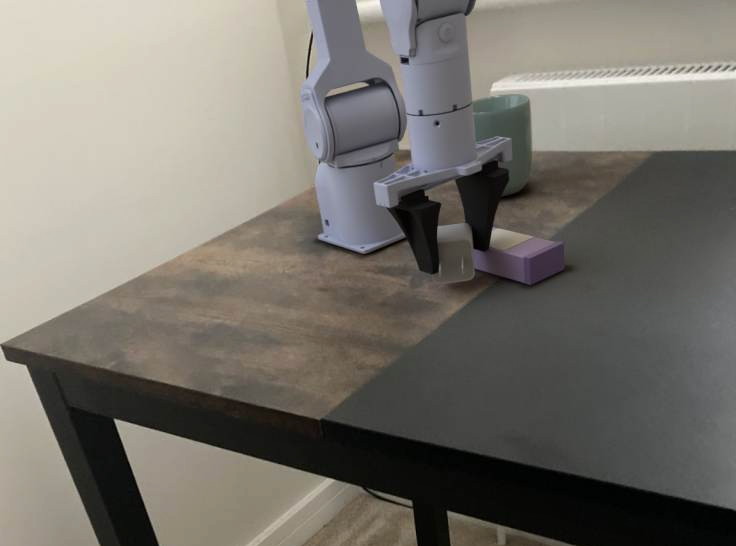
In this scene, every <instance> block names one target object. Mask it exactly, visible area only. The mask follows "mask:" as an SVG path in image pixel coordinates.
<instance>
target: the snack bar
mask: <svg viewBox="0 0 736 546" xmlns="http://www.w3.org/2000/svg"><path fill="white" fill-rule="evenodd" d="M474 266H475V270H478V271H482V272H485V273H489V274H492V275H495V276H499V277H502V278H506V279H509V280H512V281H516V282H520V283H524V284H525V285H528V286H532V285H534V284H536V283H538V282H541V281H543V280H544V279H547V278H549V277H551V276H554V275H555V274H557V273H559V272H562V271H563V270H565V269H566V267H565V242H563V241H559V240H558V241H554V240H553V241H552V240H548V239H545V238H540V237H536V236H533V235H529V234H526V233H525V234H524V233H520V232H516V231H511V230H508V229H504V228H499V227H495V226H493V228H492V234H491V240H490V246H489V250H487V251H485V252H483V251H479V250H475V249H474Z"/></svg>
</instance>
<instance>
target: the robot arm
mask: <svg viewBox="0 0 736 546" xmlns="http://www.w3.org/2000/svg"><path fill="white" fill-rule="evenodd" d="M304 2H305V6H306V11H307V14H308V18H309V23H310V27H311V31H312V37H313V40H314V44H315V48H316V54H317V57H318V61H317V63H316V65H315V66H314V68H313V69H312V71H311V72H310V73H309V75H308V76H307V77H306V79H305V80H304V82H303V84H302V86H301V88H300V91H299V93H300V95H299V99H300V103H301V109H302V125H303V131H304V135H305V140H306V143H307V145H308V148H309V149H310V151H311V154H312V155H313V156H314V157H315V158H316V159H317V160H318V161H319V164H318V166H317V169H316V171H315V172H316V173H315V177H314V186H315V192H316V198H317V203H318V208H319V213H320V219H321V224H322V230H323V233H319V234H318V235H317V239H318V240H319V241H322V242H325V243H328V244H331V245H333V246H334V245H335V246H337V247H340V248H341V247H342V248H344V249H347V250H351V251H353V252H357V253H359V254H363V255H364V254H369V253H372V252H374V251H376V250H379V249H381V248H384V247H387V246H389V245H390V244H393V243H396V242H398V241H400V240H403V239H405V238H406V240H407V242H408V245H409V247H410V249H411V251H412V254H413V256H414V259H415V262H416V264H417V267H418V270H419V271H420V272H423V273H425V274H429V275H431V274H435V273H438V271H439V254H438V243H437V229H438V226H439V219H440V212H441V207H442V203H441V202H440V201H435V200H431V199H430V197H429V195H426V192H428V191H430V190H433V189H434V188H437V187H439V186H442V185H445V184H447V183H451V182H452V181H454V182H455V184H456V187H457V189H458V190H457V191H458V194H459V197H460V201H461V205H462V209H463V215H464V223H467V224H469V225H470V226H471V228H472V237H473V248H474V249H475V250H479V251H483V252H485V251H487V250H489V246H490V240H491V234H492V228H493V227H494V224H495V220H496V219H495V218H496V214H497V211H498V207H499V204H500V202H501V199H502V197H501V196H502V194H503V192H504V189H505V187H506V185H507V184H508V182H509V170H508V169H506V168H500V167H498V162H502V163H505V162H508V161H511V160H512V159H513V157H512V140H511V138H505V137H494V138H491V139H488V140H484V141H481V142H477V143H476V141H475V128H474V116H473V103H472V101H473V91H472V90H473V89H472V79H471V68H470V67H471V66H470V54H469V41H468V30H467V28H468V27H467V18H466V17H467V16H470V14H471V13H472V12H473V10H474V9H475V6H476V3H477V0H379V4H380V8H381V9H380V10H381V12H382V15H383V17H384V20H385V22H386V24H387V27H388V32H389V37H390V44H391V47H392V49H393V50H392V51H393V53H394V55H398V56H399V58H398V59H399V65H400V73H401V80H402V89H403V95H402V93H401V91H400V89H399V86H398V83H397V80H396V77H395V72H394V70H393V66H392V65H391V64H390V63H388V62H387V61H385V60H383V59H382V58H379V57H378V56H376V55H375V54H373V53H371V52H370V51H368V50H367V48H366V43H365V38H364V33H363V28H362V24H361V20H360V14H359V9H358V5H357V0H304ZM358 83H359V84H361V83H363V84H366V85H365V86H362V87H357V88H353V89H350V90H347V91H343V92H339V93H335V94H331V95H328V93H329V92H330V91H332V90H336V89H339V88H343V87H347V86H351V85H355V84H358ZM406 130H407V133H408V140H409V148H410V157H411V161H410V162H409V163H408V164H405V165H404V166H403V167H401V168H400V169H398V170H397V168H396V161H395V153H396V152H399V151H400V147H399V143H400V142H401V141H402V140H403V138H404V136H405V133H406Z"/></svg>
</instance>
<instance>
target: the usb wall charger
mask: <svg viewBox="0 0 736 546" xmlns="http://www.w3.org/2000/svg"><path fill="white" fill-rule="evenodd" d="M437 243H438V254H439V271H438V273H435V274H430V275H431V280H432V282H434V283H435V284H437V285H442V284H443V285H444V284H451V283H452V284H453V283H460V282H467V281H468V282H469V281H471V280H473V278H474V277H475V273H476V272H475V271H476V269H475V266H474V248H473V237H472V228H471V226H470V225H469V224H467V223H465V222H460V223H454V224H446V225H438V229H437Z"/></svg>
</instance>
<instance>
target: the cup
mask: <svg viewBox="0 0 736 546" xmlns="http://www.w3.org/2000/svg"><path fill="white" fill-rule="evenodd" d="M472 103H473V116H474V128H475V141H476V143H477V142H481V141H484V140H488V139H491V138H494V137H505V138H511V140H512V157H513V159H512V160H511V161H508V162H505V163H502V162H498V167H500V168H506V169H508V170H509V182H508V184H507V185H506V187H505V189H504V192H503V194H502V196H501V198H502V197H508V196H511V195H512V196H513V195H514V194H517V193H518V192H520V191H522V190H523V189H524V188H525V187H526V185H527V184H528V182H529V180H530V176H531V172H532V166H533V165H532V164H533V121H532V120H533V119H532V105H531V99H530V97H529V96H528V95H525V94H520V93H511V94H510V93H509V94H498V95H492V96H487V97H483V98H477V99H475V100H472Z"/></svg>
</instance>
